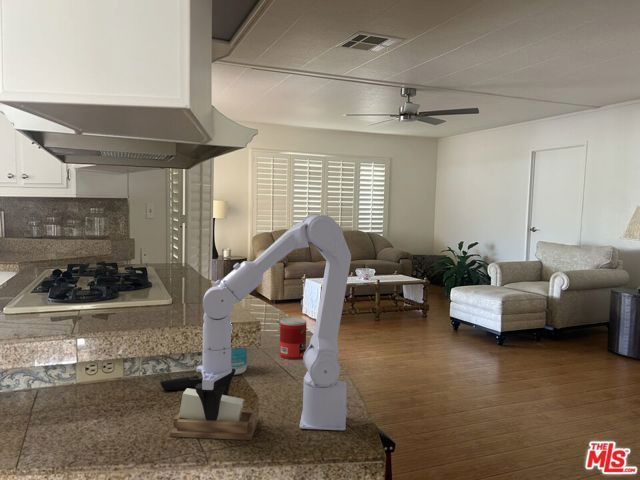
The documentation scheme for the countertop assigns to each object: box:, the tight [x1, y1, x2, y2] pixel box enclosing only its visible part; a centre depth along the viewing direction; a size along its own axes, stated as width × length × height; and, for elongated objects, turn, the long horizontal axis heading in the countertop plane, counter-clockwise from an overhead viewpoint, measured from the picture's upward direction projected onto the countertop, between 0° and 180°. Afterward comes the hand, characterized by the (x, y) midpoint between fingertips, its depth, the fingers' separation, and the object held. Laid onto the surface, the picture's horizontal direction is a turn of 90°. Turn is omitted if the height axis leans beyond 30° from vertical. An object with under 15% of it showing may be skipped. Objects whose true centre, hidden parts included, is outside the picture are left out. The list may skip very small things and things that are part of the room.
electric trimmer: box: [159, 375, 203, 391], centre depth 126 cm, size 4×16×3 cm, turn 118°
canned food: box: [279, 317, 307, 360], centre depth 153 cm, size 8×8×11 cm
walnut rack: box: [169, 409, 259, 441], centre depth 103 cm, size 16×9×3 cm, turn 88°
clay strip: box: [178, 388, 245, 422], centre depth 103 cm, size 12×3×5 cm, turn 88°
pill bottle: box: [231, 347, 248, 376], centre depth 138 cm, size 8×7×14 cm
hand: (216, 411), depth 103 cm, fingers open, 7 cm apart
